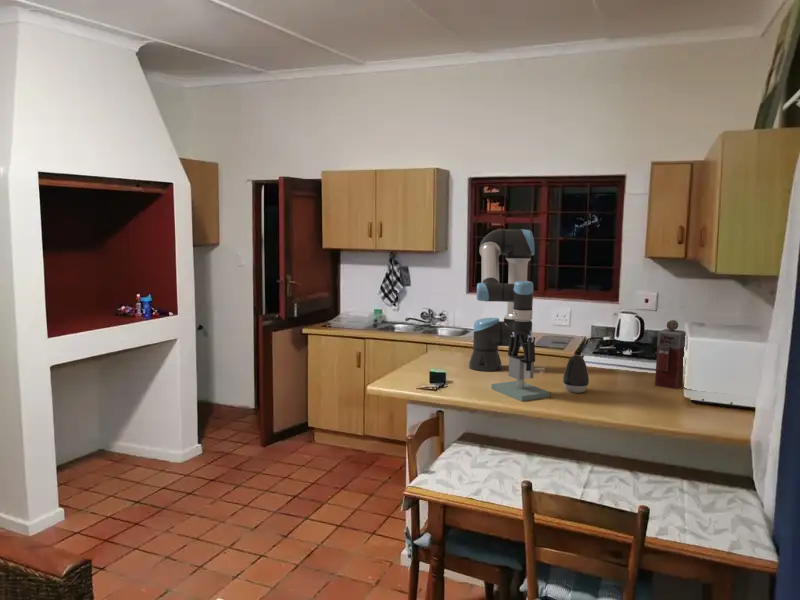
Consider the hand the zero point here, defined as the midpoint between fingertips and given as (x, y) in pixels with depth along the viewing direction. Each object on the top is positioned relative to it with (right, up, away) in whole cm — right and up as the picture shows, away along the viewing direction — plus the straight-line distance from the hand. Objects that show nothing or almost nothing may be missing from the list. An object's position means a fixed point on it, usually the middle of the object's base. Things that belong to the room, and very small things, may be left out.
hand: (520, 376), depth 259 cm
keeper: (0, -7, +1) cm, 7 cm away
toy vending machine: (+65, -6, +14) cm, 67 cm away
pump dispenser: (+23, -7, +4) cm, 25 cm away
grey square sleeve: (0, 0, 0) cm, 0 cm away
